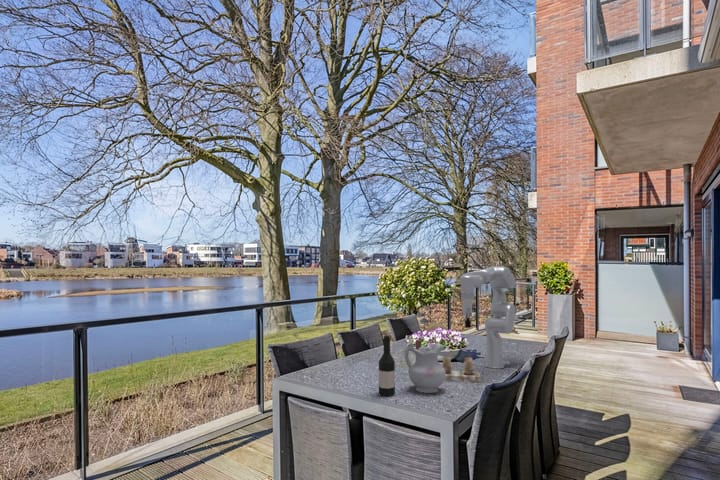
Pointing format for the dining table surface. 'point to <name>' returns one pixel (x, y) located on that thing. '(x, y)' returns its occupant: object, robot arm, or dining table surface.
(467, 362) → the oak peg
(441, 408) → the dining table surface
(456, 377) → the board
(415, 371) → the ceramic pitcher
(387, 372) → the wine bottle
